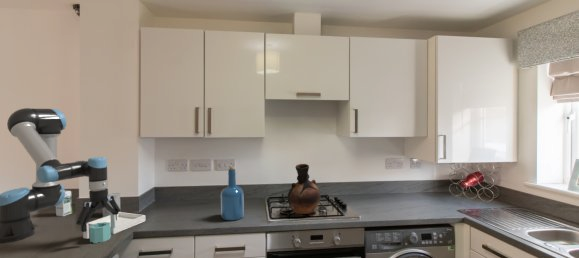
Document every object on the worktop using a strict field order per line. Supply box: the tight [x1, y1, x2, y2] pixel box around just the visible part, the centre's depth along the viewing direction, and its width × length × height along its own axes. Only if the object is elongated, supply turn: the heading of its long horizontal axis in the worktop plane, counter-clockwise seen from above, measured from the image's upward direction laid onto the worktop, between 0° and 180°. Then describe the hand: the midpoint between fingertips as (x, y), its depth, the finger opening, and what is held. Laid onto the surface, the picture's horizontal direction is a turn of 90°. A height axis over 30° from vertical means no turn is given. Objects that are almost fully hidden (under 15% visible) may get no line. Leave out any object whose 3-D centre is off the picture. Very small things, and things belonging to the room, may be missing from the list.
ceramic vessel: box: [286, 163, 322, 215], centre depth 175 cm, size 21×18×30 cm
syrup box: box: [55, 190, 73, 217], centre depth 178 cm, size 6×6×14 cm
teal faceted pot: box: [89, 222, 112, 244], centre depth 140 cm, size 8×8×7 cm
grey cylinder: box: [101, 192, 121, 218], centre depth 177 cm, size 10×10×12 cm
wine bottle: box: [220, 166, 245, 221], centre depth 169 cm, size 14×13×30 cm
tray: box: [87, 211, 146, 235], centre depth 159 cm, size 20×20×3 cm
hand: (100, 232), depth 140 cm, fingers open, 13 cm apart
